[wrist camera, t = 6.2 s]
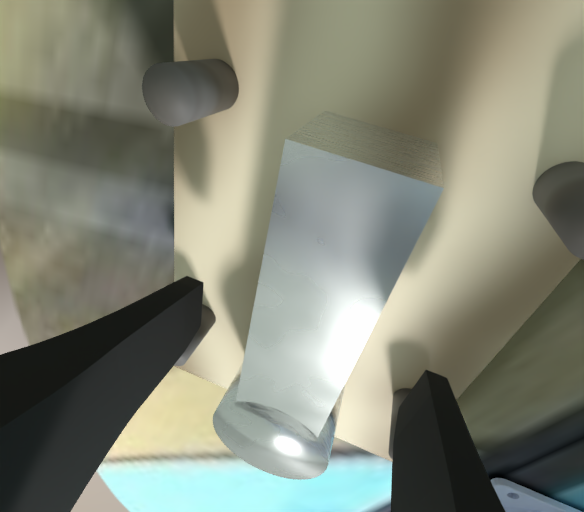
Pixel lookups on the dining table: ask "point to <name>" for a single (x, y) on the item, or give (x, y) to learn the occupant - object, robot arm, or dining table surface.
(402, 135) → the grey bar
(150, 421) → the dining table surface
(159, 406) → the dining table surface
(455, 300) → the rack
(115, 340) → the robot arm
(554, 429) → the dining table surface
